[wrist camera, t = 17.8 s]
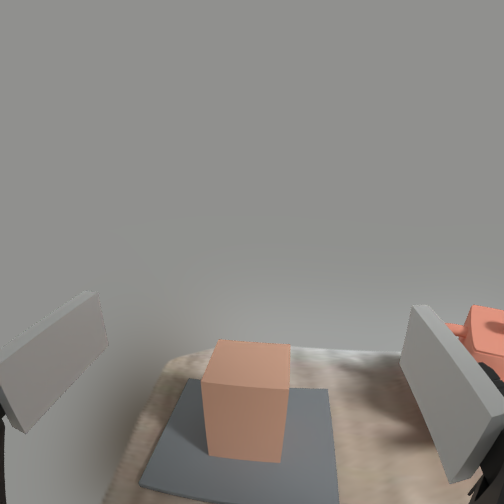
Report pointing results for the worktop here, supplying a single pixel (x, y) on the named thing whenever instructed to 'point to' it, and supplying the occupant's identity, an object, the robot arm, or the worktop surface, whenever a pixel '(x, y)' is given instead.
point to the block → (246, 400)
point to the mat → (243, 471)
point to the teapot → (483, 336)
